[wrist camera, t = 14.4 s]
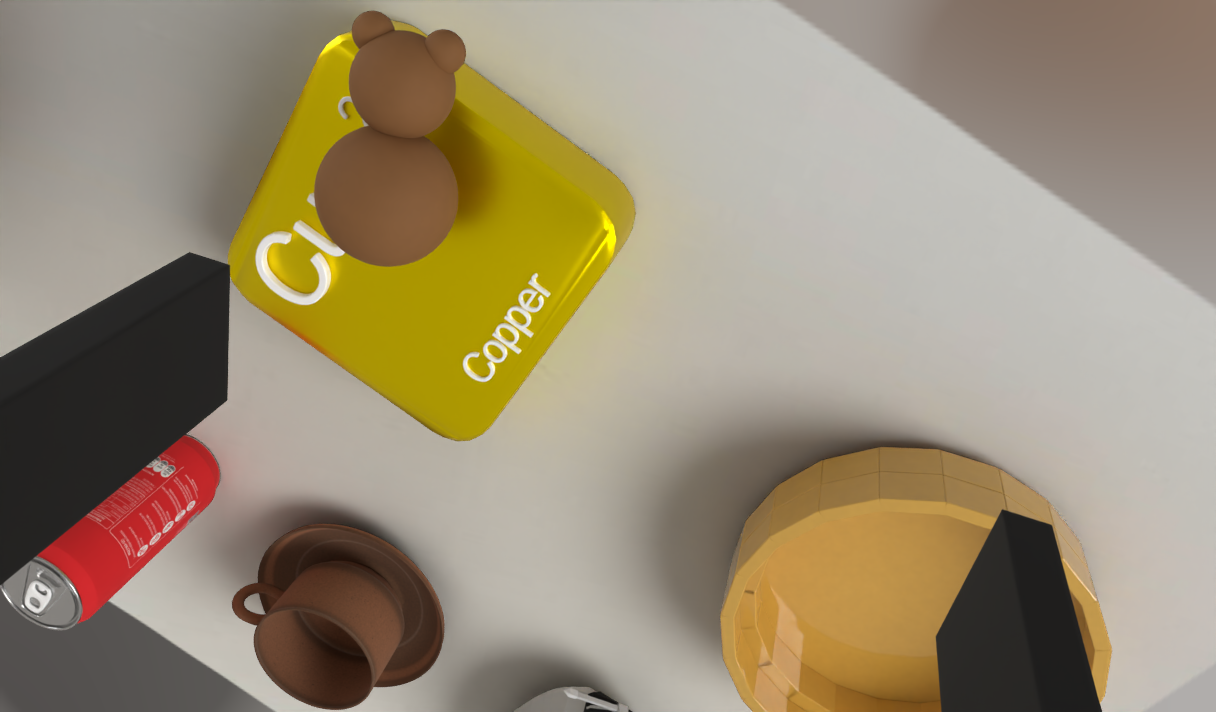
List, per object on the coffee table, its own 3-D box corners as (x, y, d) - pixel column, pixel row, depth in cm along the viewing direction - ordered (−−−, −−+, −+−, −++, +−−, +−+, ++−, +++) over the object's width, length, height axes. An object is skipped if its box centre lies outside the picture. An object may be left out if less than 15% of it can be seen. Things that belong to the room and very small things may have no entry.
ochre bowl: (789, 395, 47) (780, 449, 42) (1154, 509, 45) (1184, 577, 40) (698, 649, 55) (682, 716, 51) (1002, 754, 53) (1013, 833, 49)
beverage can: (239, 463, 57) (98, 595, 47) (207, 515, 60) (67, 650, 50) (166, 411, 57) (7, 532, 47) (137, 465, 60) (-19, 591, 49)
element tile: (496, 416, 51) (462, 464, 47) (260, 248, 50) (205, 282, 46) (655, 201, 44) (632, 235, 40) (383, -1, 43) (330, 12, 39)
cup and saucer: (298, 653, 64) (244, 725, 58) (254, 501, 58) (192, 564, 53) (468, 675, 61) (428, 753, 55) (438, 516, 55) (391, 585, 50)
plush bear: (343, 227, 43) (371, 0, 39) (464, 261, 42) (504, 35, 38) (281, 261, 37) (306, 4, 34) (418, 300, 37) (459, 44, 33)
